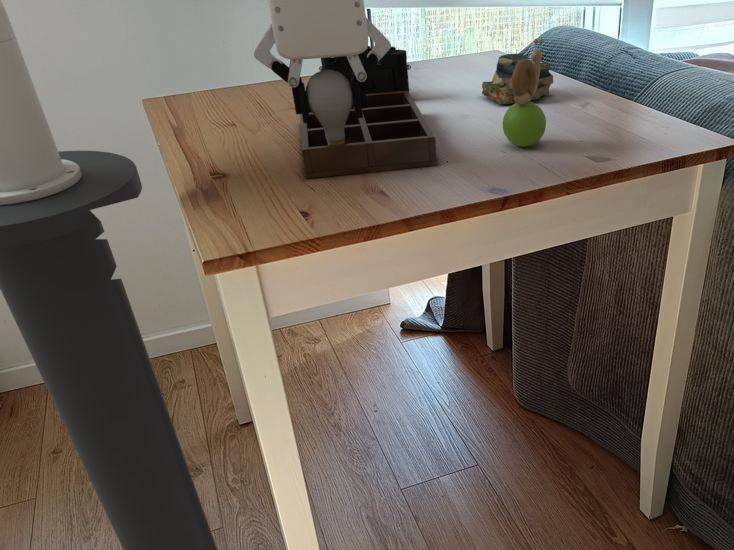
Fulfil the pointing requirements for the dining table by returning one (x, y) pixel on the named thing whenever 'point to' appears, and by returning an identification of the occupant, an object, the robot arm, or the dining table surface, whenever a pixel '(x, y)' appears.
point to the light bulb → (330, 102)
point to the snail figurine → (525, 103)
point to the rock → (502, 80)
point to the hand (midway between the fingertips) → (332, 115)
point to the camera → (376, 71)
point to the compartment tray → (371, 139)
